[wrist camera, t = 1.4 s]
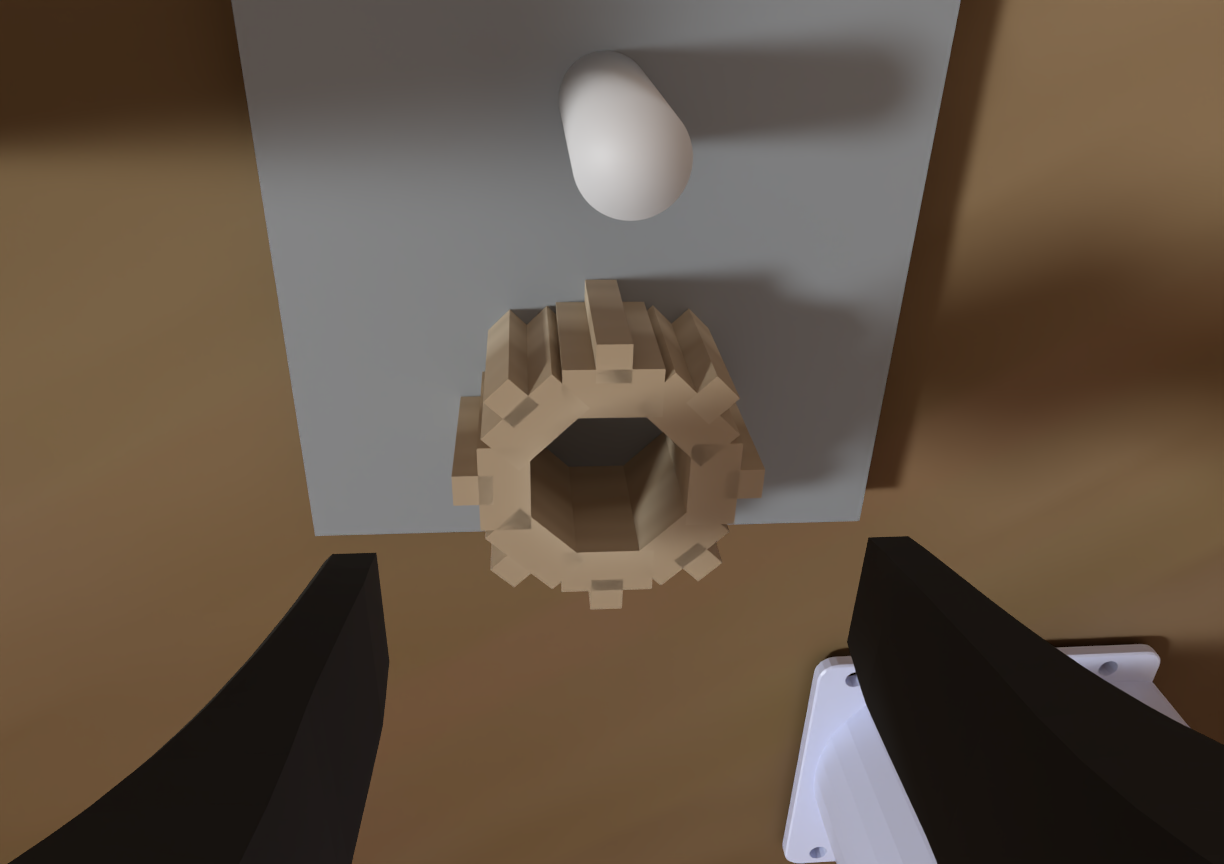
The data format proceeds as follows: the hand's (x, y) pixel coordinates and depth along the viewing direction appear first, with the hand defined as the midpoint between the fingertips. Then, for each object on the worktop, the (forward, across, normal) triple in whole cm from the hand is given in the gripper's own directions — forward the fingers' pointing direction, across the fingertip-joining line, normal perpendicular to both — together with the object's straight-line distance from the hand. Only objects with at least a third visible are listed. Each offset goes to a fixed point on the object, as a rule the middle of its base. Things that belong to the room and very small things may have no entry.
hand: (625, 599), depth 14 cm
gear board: (+7, 0, -8) cm, 11 cm away
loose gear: (+6, 0, 0) cm, 6 cm away
